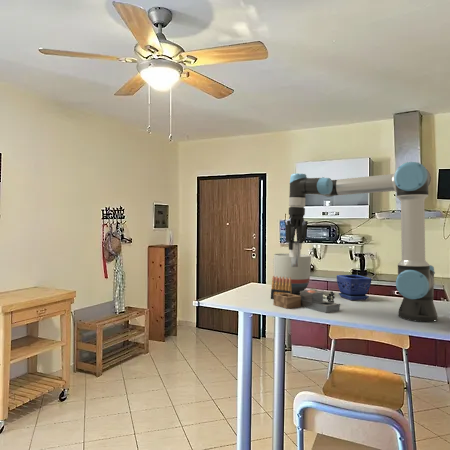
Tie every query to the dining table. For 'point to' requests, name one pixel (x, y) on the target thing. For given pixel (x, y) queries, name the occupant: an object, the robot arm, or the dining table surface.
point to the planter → (293, 271)
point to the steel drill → (295, 259)
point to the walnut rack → (287, 300)
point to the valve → (330, 297)
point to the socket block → (317, 302)
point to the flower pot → (353, 286)
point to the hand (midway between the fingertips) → (294, 256)
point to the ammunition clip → (277, 287)
